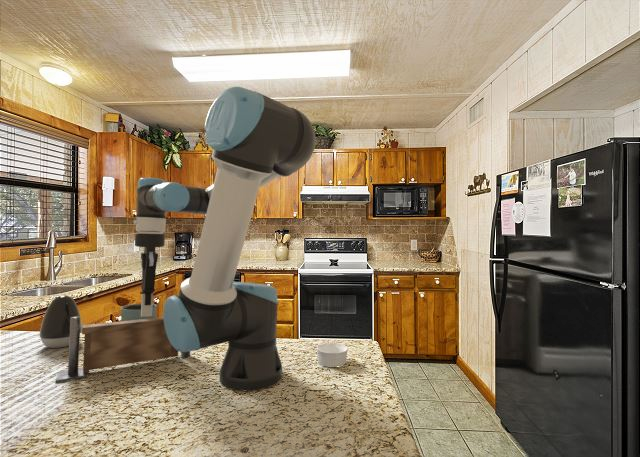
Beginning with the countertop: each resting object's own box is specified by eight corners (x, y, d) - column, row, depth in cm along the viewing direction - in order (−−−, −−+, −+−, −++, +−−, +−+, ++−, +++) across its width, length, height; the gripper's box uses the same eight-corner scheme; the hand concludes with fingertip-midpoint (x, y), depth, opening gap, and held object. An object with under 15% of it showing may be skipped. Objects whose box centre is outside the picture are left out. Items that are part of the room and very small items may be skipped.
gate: (80, 372, 79) (82, 327, 79) (81, 368, 81) (83, 325, 81) (178, 356, 91) (179, 317, 91) (176, 353, 93) (177, 315, 93)
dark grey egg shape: (74, 337, 107) (76, 291, 107) (86, 344, 101) (88, 295, 101) (34, 345, 99) (36, 295, 99) (44, 353, 93) (47, 300, 93)
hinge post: (87, 377, 78) (90, 318, 79) (55, 383, 75) (58, 321, 75) (88, 368, 83) (91, 313, 84) (58, 373, 80) (61, 316, 80)
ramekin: (310, 360, 93) (310, 345, 93) (336, 355, 98) (337, 340, 98) (326, 371, 86) (326, 355, 86) (353, 365, 90) (354, 350, 90)
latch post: (191, 357, 93) (192, 311, 93) (182, 358, 92) (183, 312, 92) (189, 354, 95) (191, 309, 95) (180, 356, 94) (182, 310, 94)
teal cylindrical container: (136, 351, 96) (138, 310, 96) (110, 347, 99) (112, 307, 99) (163, 341, 106) (164, 304, 106) (138, 338, 109) (140, 301, 109)
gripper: (133, 232, 96) (129, 312, 96) (137, 232, 86) (132, 323, 85) (161, 233, 101) (158, 309, 100) (168, 233, 90) (164, 319, 89)
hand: (146, 315), depth 93 cm, fingers closed
